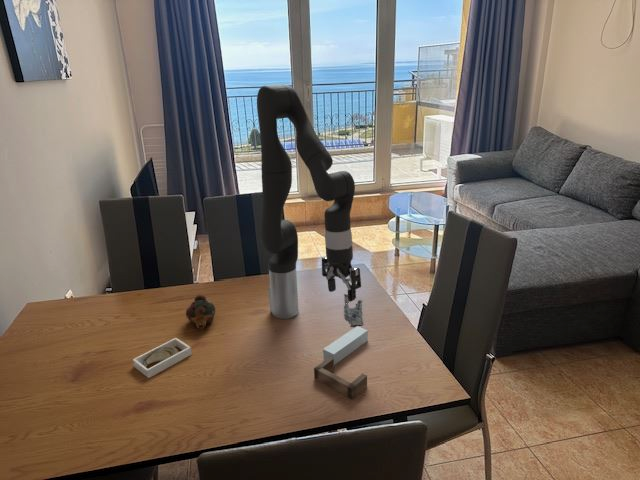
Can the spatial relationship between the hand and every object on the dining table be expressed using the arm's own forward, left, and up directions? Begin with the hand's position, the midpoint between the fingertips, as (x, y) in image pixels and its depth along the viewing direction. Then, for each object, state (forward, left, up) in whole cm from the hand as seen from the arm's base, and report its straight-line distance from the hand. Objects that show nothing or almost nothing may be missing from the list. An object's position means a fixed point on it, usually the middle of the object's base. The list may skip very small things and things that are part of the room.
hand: (341, 295), depth 129 cm
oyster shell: (-37, -39, -18) cm, 57 cm away
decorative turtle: (-46, -19, -18) cm, 53 cm away
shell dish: (-37, -39, -17) cm, 56 cm away
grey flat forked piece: (-10, +19, -18) cm, 28 cm away
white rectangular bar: (+2, -1, -18) cm, 18 cm away
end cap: (+10, -13, -17) cm, 24 cm away
